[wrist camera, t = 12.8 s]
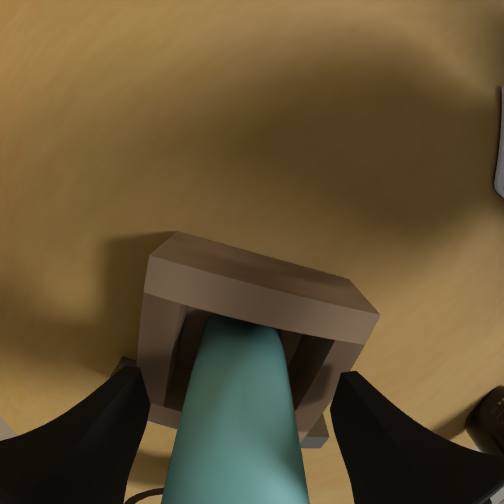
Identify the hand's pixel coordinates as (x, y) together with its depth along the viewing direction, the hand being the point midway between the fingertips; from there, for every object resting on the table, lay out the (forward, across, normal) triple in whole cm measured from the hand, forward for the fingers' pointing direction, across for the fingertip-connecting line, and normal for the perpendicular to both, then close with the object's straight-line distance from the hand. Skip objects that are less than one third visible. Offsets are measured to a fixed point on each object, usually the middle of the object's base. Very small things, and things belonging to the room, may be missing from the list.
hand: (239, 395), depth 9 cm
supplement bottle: (+5, -28, +14) cm, 31 cm away
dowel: (+4, 0, 0) cm, 4 cm away
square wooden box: (+4, 0, 0) cm, 4 cm away
